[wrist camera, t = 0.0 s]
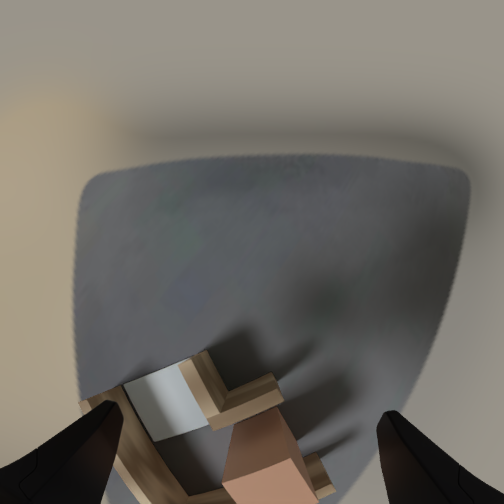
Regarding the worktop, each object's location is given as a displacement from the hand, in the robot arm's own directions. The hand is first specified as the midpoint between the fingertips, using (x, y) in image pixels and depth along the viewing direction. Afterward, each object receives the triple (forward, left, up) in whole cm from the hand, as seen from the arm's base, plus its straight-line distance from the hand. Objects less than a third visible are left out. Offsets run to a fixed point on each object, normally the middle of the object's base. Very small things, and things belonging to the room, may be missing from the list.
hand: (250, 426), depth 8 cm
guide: (-4, +6, -15) cm, 17 cm away
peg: (-6, +2, -15) cm, 16 cm away
